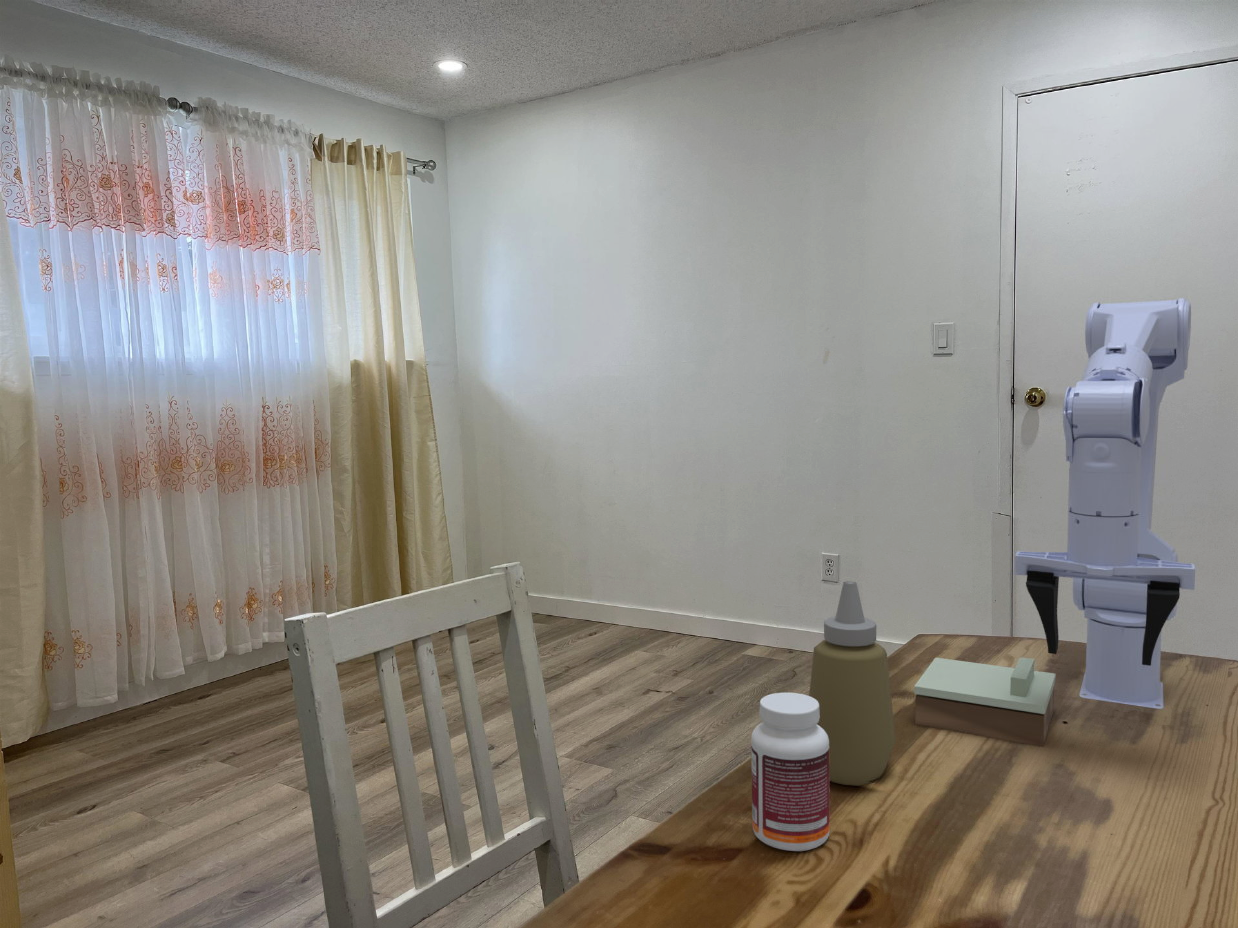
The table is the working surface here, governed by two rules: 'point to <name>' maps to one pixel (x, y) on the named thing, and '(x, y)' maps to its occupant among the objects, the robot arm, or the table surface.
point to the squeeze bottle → (853, 693)
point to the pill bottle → (790, 774)
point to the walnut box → (984, 719)
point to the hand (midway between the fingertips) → (1098, 656)
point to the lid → (988, 684)
